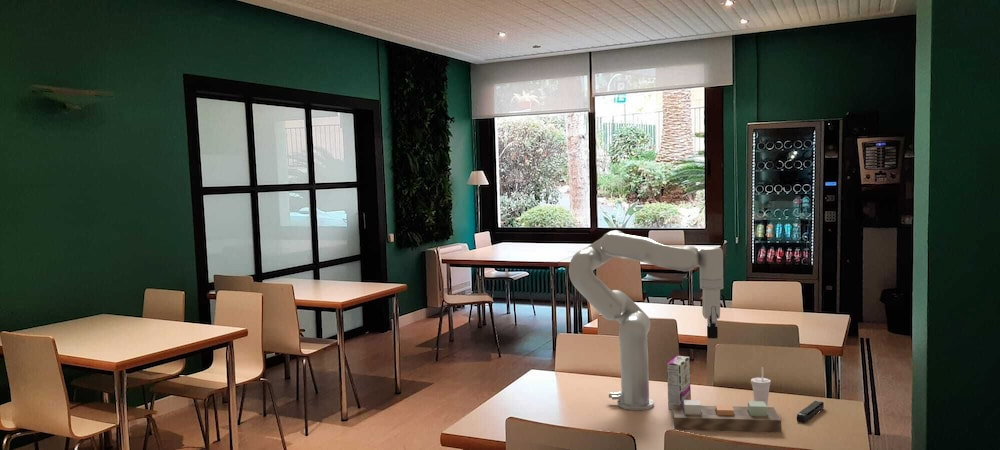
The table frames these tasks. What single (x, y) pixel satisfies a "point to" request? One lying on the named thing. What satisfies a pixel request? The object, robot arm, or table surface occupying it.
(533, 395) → the table surface
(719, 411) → the tan block
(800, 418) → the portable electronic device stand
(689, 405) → the grey button
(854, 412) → the table surface
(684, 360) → the candy bar box
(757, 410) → the sage button
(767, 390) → the smoothie
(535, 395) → the table surface
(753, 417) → the console
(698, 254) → the robot arm
